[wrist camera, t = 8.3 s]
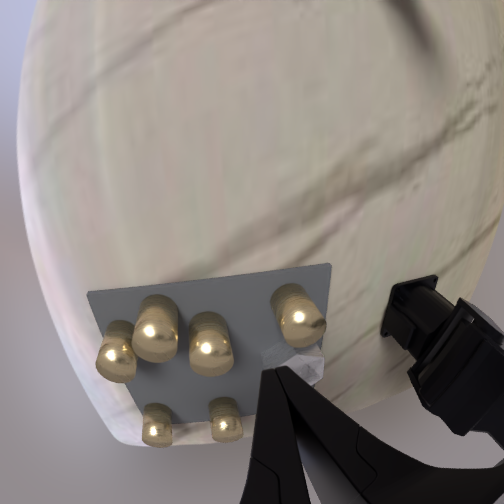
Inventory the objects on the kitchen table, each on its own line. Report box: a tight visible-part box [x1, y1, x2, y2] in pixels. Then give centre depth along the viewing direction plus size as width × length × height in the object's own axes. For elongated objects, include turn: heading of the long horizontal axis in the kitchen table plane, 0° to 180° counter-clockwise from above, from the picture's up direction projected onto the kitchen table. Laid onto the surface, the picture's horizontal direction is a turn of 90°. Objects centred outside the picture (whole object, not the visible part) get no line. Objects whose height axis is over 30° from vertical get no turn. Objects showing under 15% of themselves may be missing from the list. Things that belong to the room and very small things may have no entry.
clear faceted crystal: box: [262, 338, 325, 386], centre depth 24 cm, size 6×5×2 cm
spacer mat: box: [87, 263, 332, 424], centre depth 24 cm, size 19×18×1 cm
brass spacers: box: [96, 283, 326, 448], centre depth 21 cm, size 16×16×4 cm
